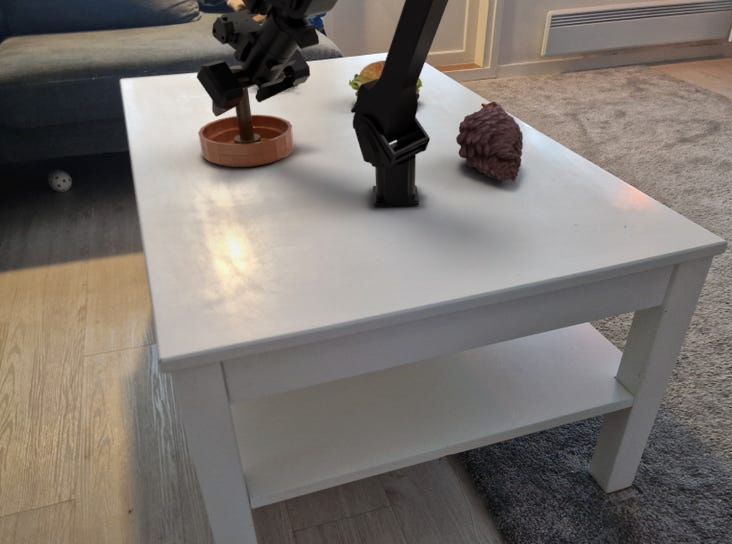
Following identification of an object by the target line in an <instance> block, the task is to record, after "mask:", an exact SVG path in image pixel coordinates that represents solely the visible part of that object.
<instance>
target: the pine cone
mask: <svg viewBox="0 0 732 544" xmlns="http://www.w3.org/2000/svg"><path fill="white" fill-rule="evenodd" d="M480 104H481V108H480V109H479V110H478V111H474V112H473V113H471V114H469V115H468V114H467V115H466V116H464V119H463V121H461V122H459V126H458V132H459V134H457V136H456V138H455V140H456V144H457V145H459V146H460V148H459V150H458V156H459V158H461V159H465V161H466V166H467V167H468V168H471V167H475V168H476V170H477V171H478V172H479V173H481V174H484V175H485V176H486V177H490V178H492V179H497V180H499V181H510V180H511V182H515V181H516V180H517V178H518V175H519V171H520V168H521V166H522V164H521V163H522V158H521V157H522V156H523V151H522V150H523V147H524V143H523V140H524V135H523V131H521V127H520V124H518V123H517V122H516V119H515V118H514V117H513V116H511V115H510V114H508V112H507V111H505V109H504V108H503V106H502V105H501V104H498V103H497V102H496V101H492V102H489V103H480Z"/></svg>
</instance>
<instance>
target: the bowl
mask: <svg viewBox="0 0 732 544" xmlns="http://www.w3.org/2000/svg"><path fill="white" fill-rule="evenodd" d="M251 116H252V123H253V131H254V134H258V135H260V137H261V142H255V143H248V144H235V143H234V137H235V136H237V135H239V129H238V123H237V116H236V115H231V116H227V117H222V118H219V119H216V120H213V121H211V122H208V123H206V124H205V125H203V126H202V127H200V129H199V131H198V133H197V134H198V139H199V144H200V149H201V154H202V157H203V158H204V159H205V160H207V161H208V162H210V163H213V164H217V165H220V166H224V167H230V168H251V167H260V166H264V165H267V164H268V165H269V164H273V163H276V162H277V161H279V160H281V159H283V158H285V157H287V156H288V155H290V154H291V153H292V152H293V151H294V147H295V142H294V133H293V125H292V124H291V122H290V121H289V120H286V119H285V118H283V117H279V116H274V115H269V114H251Z"/></svg>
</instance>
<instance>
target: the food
mask: <svg viewBox="0 0 732 544" xmlns="http://www.w3.org/2000/svg"><path fill="white" fill-rule="evenodd" d="M384 63H385V60H379V61H373V62H371V63H369V64H367V65H366V66H364V67H363V68H362V70H361V71H360V73H359V74H358V73H355V74H354V76H353V79H352V80H351V79H349V80H348V81H349V82H348V86H349V87H351V88H352V90H355V91H356V92H355V94H354V95H355V96H356V97H357V95H358V90H359V88H360V85H361V84H364V83H367V82H370V81H373V80H375V79H378V78H379V77H380V75H381V73H382V69H383V66H384ZM422 87H423V82H422V80H421V78H419V79H418V82H417V85H416V94H417V100H418V101H419V99H420V91H421V90H420V88H422Z"/></svg>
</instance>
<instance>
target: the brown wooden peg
mask: <svg viewBox="0 0 732 544" xmlns="http://www.w3.org/2000/svg"><path fill="white" fill-rule="evenodd" d="M241 65H242V64H241ZM241 65H231V66H229V68H230V69H231V71H232V72H233V73H236V72H239V71H243V70H242V67H241ZM243 94H244V97H243V98H242V100H241V101H240V102H239V105H238V106H236V107H234V109H235V116H237V123H238V129H239V135H237V136H235V137H234V143H235V144H248V143H255V142H261V137H260V135H258V134H254V131H253V123H252V116H251V115H252V110H251V109H252V108H251V102H250V95H249V88H246V89H243Z"/></svg>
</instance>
